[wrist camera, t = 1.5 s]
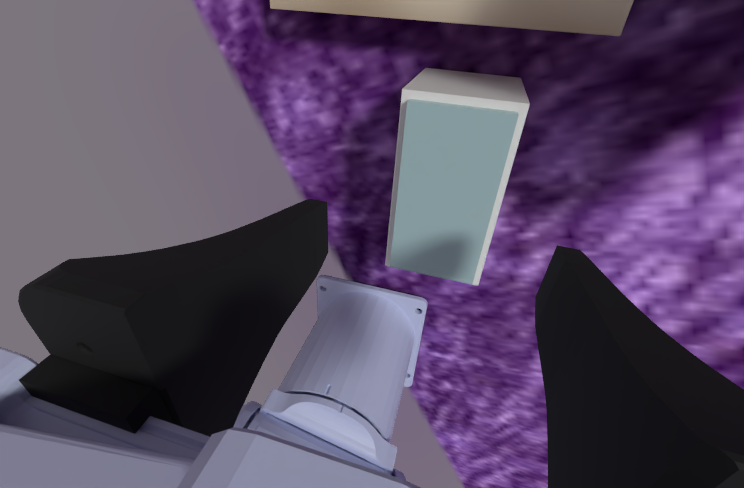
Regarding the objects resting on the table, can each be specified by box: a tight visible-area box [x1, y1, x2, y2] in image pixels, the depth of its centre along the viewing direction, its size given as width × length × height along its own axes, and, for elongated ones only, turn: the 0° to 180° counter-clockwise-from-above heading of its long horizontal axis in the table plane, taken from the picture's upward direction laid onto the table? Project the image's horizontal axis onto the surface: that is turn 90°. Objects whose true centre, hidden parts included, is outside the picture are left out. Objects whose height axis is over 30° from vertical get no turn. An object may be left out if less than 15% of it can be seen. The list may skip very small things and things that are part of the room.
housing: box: [385, 68, 530, 285], centre depth 17 cm, size 8×4×6 cm, turn 177°
